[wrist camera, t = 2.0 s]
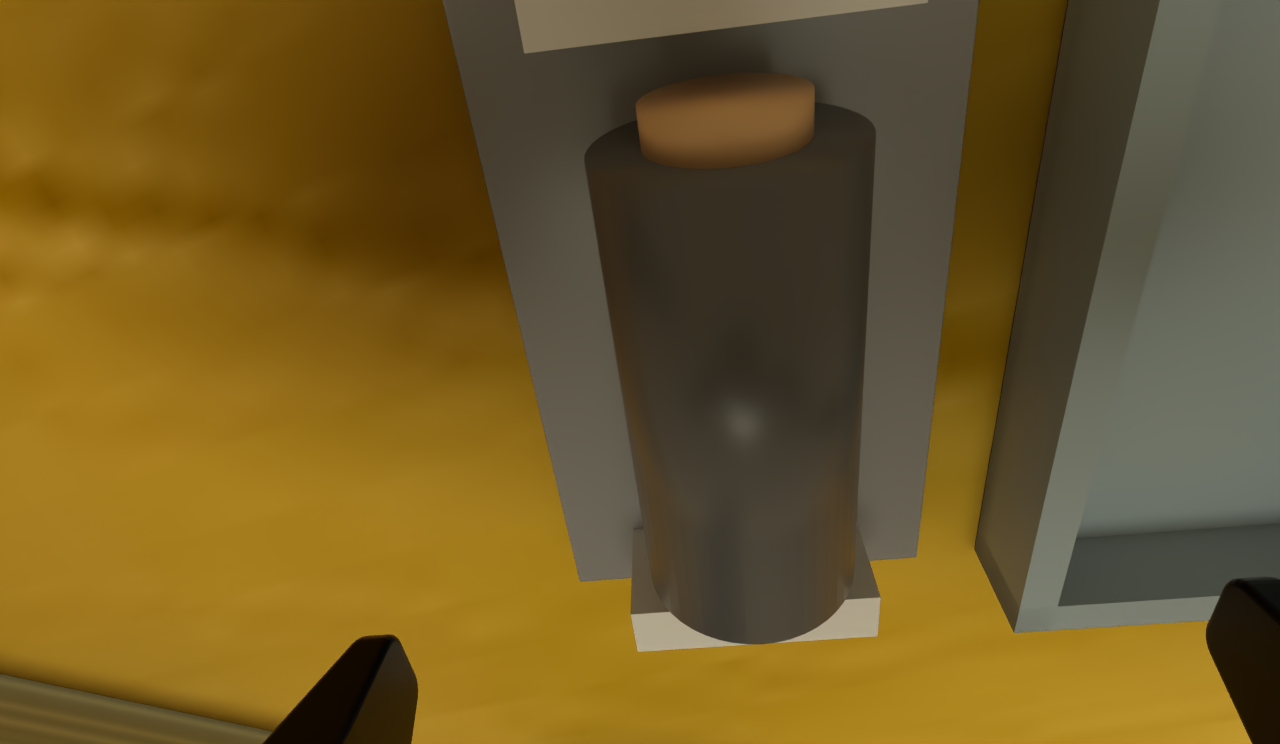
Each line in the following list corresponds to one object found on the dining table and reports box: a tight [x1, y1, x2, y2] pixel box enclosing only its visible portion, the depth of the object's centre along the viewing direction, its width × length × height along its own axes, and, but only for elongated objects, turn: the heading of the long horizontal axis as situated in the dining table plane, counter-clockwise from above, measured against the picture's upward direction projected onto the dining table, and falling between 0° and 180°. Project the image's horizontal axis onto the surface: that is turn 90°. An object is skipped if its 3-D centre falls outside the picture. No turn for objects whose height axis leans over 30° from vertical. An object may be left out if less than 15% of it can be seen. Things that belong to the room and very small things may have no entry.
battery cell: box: [584, 72, 876, 644], centre depth 13 cm, size 9×4×4 cm, turn 7°
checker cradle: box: [442, 0, 979, 652], centre depth 14 cm, size 14×8×3 cm, turn 7°
